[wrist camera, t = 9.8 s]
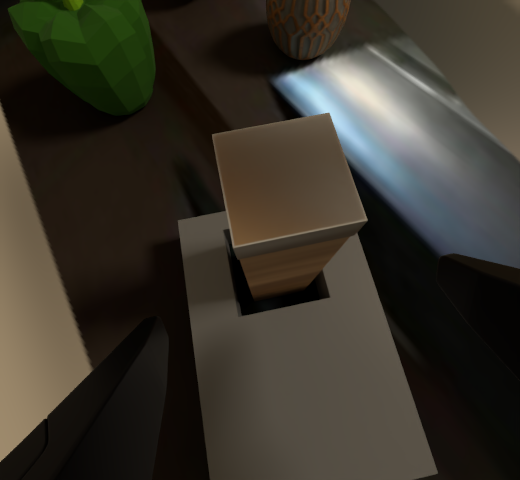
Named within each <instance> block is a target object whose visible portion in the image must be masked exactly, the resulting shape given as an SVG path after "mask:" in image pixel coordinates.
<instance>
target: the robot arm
mask: <svg viewBox="0 0 520 480" xmlns="http://www.w3.org/2000/svg"><path fill="white" fill-rule="evenodd" d="M436 280H437V283H438V285H439V286H440V288H441V289H442V290H443V292H444V293H445V294H446V296H447V297H448V298H449V300H450V301H451V302H452V304H453V305H454V306H455V308H456V309H457V310H458V312H459V313H460V314H461V316H462V317H463V318H464V319H465V321H466V322H467V323H468V324H469V326H470V327H471V328H472V329H473V330H474V331H475V332H476V333H477V335H478V336H479V337H480V338H481V339H482V340H483V341H484V342H485V343H486V344H487V345H488V347H489V348H490V349H491V350H492V351H493V352H494V353H495V354H496V355H497V356H498V358H499V359H500V360H501V361H502V362H503V363H504V364H505V365H506V366H507V367H508V369H509V370H510V371H511V372H512V373H513V374H514V375H515V376H516V377H517V378H518V379H519V381H520V269H519V268H514V267H510V266H506V265H502V264H497V263H493V262H489V261H485V260H480V259H476V258H472V257H468V256H464V255H459V254H455V253H452V254H447V255H443V256H441V257H440V258H439V260H438V267H437V274H436ZM168 351H169V338H168V335H167V332H166V330H165V327H164V325H163V322H162V320H161V318H160V317H159V316H154V317H149V318H145V319H144V320H143V321H142V322H141V323H140V324H139V325H138V326H137V327H136V328H135V329H134V330H133V331H132V332H131V333H130V334H129V335H128V336H127V337H126V338H125V339H124V340H123V341H122V342H121V343H120V344H119V345H118V346H117V347H116V348H115V349H114V350H113V351H112V352H111V353H110V354H109V355H108V356H107V357H106V358H105V359H104V360H103V361H102V362H101V363H100V364H99V365H98V366H97V367H96V368H95V369H94V370H93V371H92V372H91V373H90V374H89V375H88V376H87V377H86V378H85V379H84V380H83V381H82V382H81V383H80V384H79V385H78V386H77V387H76V388H75V389H74V390H73V391H72V392H71V393H70V394H69V395H68V396H67V397H66V398H65V399H64V400H63V401H62V402H61V403H60V404H59V405H58V406H57V407H56V408H55V409H54V410H53V411H52V412H51V413H50V414H49V415H48V417H47V419H44V420H43V421H42V422H41V423H40V424H39V425H38V426H37V427H36V428H35V429H34V430H33V431H32V432H31V433H30V434H29V435H28V436H27V437H26V438H25V439H24V440H23V441H22V442H21V443H20V444H19V445H18V446H17V447H16V448H14V449H13V451H11V452H10V453H9V454H8V455H7V456H6V457H5V458H4V459H3V460H2V461H1V462H0V480H152V475H153V469H154V463H155V457H156V451H157V445H158V439H159V433H160V427H161V421H162V415H163V409H164V403H165V396H166V387H167V370H168Z"/></svg>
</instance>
